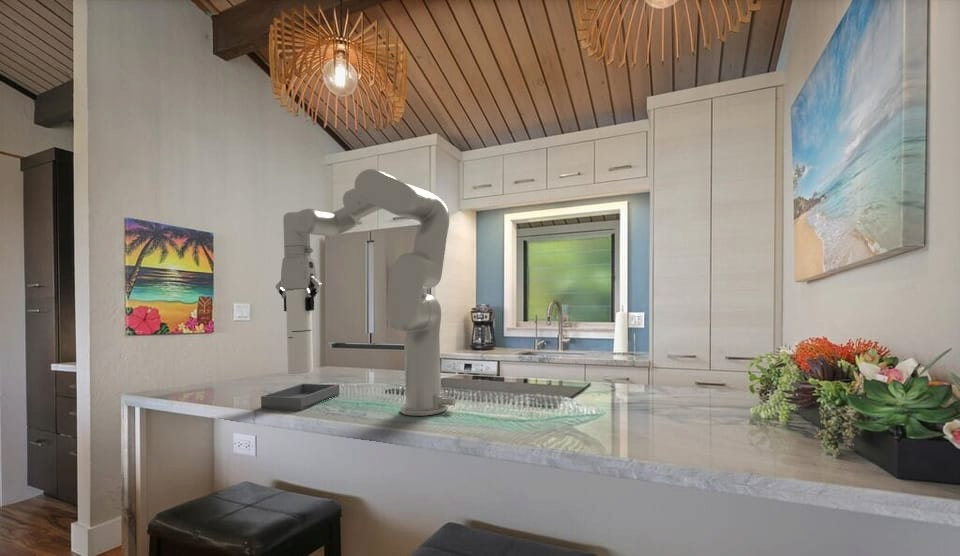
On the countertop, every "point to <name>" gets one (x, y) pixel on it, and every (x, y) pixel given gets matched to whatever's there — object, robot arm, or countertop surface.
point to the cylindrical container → (298, 333)
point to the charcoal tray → (299, 396)
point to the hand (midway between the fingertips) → (299, 310)
